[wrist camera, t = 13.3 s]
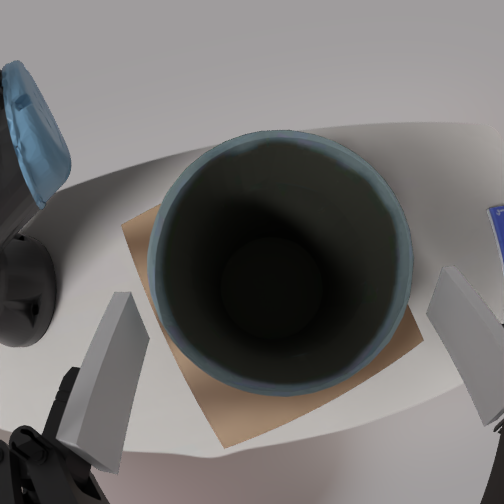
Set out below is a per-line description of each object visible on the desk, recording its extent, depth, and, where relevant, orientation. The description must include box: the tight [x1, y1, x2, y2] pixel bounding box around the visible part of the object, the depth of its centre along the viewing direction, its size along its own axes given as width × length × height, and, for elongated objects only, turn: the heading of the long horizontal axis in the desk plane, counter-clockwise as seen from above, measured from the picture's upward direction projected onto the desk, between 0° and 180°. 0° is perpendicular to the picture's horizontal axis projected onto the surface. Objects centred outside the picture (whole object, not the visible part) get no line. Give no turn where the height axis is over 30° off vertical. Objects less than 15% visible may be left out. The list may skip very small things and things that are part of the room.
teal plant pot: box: [147, 130, 414, 397], centre depth 16 cm, size 10×10×12 cm
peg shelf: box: [121, 203, 424, 449], centre depth 26 cm, size 20×18×8 cm
